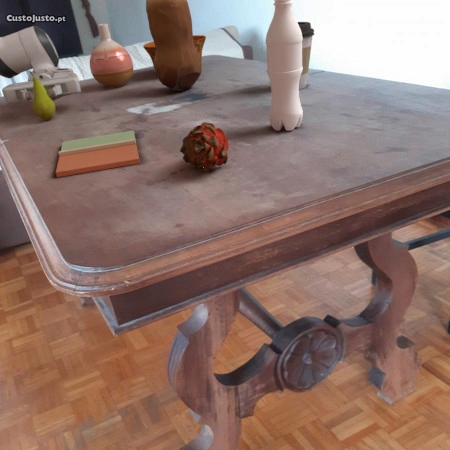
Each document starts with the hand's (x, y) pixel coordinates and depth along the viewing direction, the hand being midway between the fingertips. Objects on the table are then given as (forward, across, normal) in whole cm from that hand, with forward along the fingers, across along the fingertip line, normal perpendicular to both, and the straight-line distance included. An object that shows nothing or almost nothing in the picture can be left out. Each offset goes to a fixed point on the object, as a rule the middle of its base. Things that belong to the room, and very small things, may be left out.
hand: (39, 94), depth 123 cm
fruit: (-1, 0, +7) cm, 7 cm away
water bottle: (+39, +54, +7) cm, 67 cm away
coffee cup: (+5, +67, +7) cm, 68 cm away
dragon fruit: (+54, +34, +7) cm, 64 cm away
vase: (-33, +19, +7) cm, 39 cm away
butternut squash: (-12, +38, +7) cm, 40 cm away
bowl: (-40, +41, +7) cm, 58 cm away
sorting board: (+36, +14, +6) cm, 39 cm away
